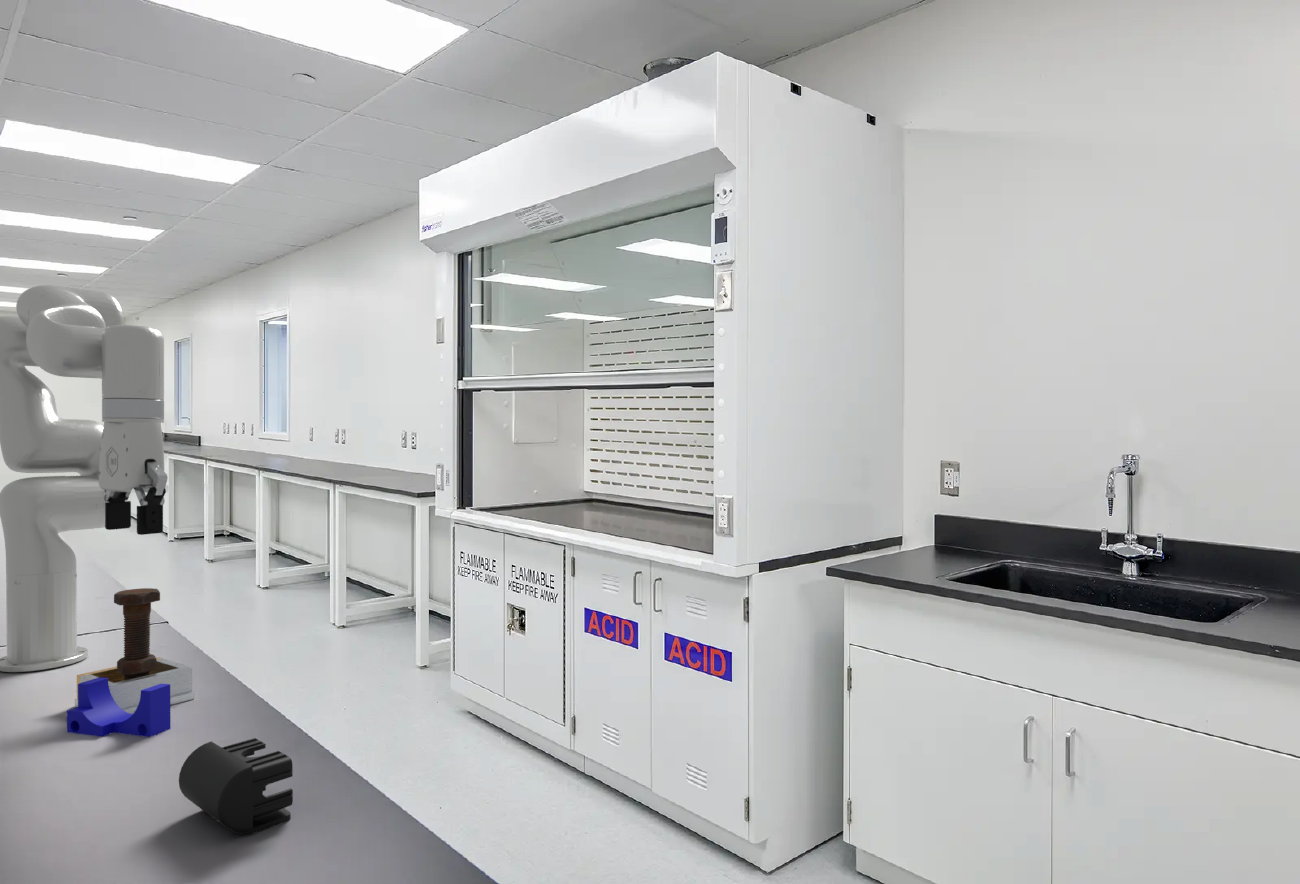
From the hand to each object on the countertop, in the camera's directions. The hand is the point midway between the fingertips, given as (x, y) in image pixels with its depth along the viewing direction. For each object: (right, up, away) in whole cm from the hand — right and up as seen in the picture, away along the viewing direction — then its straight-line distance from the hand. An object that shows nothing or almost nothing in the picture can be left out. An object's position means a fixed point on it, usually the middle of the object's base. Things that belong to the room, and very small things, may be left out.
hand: (133, 531), depth 114 cm
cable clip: (+5, -25, -11) cm, 28 cm away
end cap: (+33, -25, -35) cm, 55 cm away
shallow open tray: (0, -25, 0) cm, 25 cm away
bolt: (+1, -24, 0) cm, 24 cm away
